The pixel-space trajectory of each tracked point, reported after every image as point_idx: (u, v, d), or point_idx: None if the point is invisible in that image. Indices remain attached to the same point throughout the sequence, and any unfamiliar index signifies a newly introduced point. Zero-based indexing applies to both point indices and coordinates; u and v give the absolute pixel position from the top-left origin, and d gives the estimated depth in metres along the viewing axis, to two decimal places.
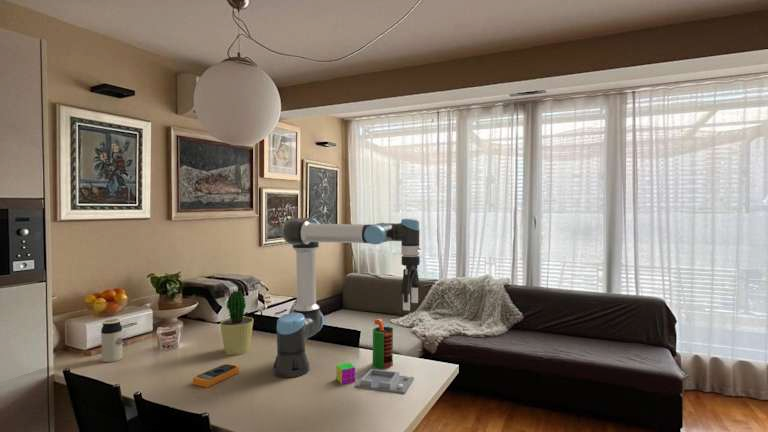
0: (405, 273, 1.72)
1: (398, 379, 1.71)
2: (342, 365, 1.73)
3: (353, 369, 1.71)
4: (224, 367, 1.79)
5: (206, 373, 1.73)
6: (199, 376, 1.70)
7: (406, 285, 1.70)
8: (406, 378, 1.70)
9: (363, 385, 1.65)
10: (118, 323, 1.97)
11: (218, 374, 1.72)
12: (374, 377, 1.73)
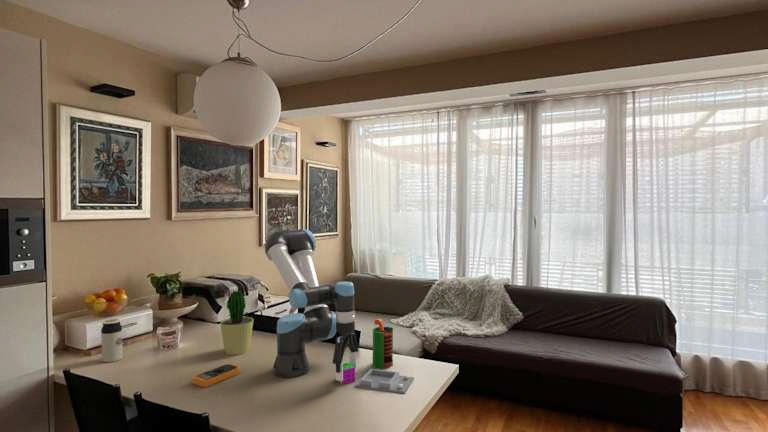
0: (337, 341, 1.65)
1: (398, 379, 1.71)
2: None
3: (353, 369, 1.71)
4: (225, 367, 1.79)
5: (206, 373, 1.73)
6: (199, 376, 1.71)
7: (338, 355, 1.63)
8: (406, 378, 1.70)
9: (363, 385, 1.65)
10: (118, 323, 1.97)
11: (217, 374, 1.72)
12: (374, 377, 1.73)
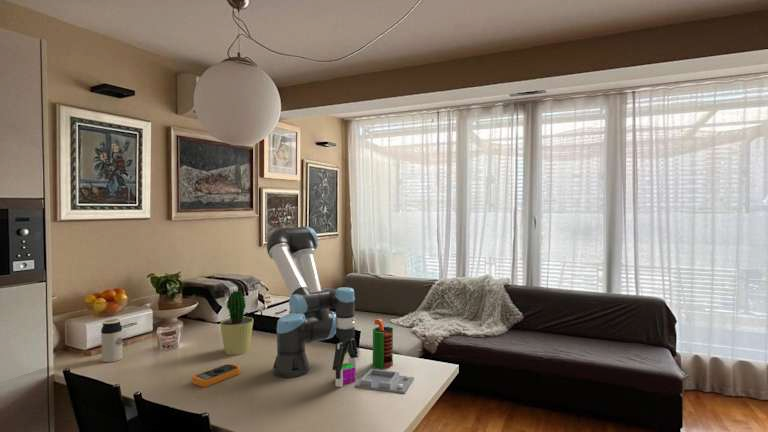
0: (337, 348, 1.66)
1: (398, 379, 1.71)
2: (342, 365, 1.73)
3: (353, 369, 1.71)
4: (225, 367, 1.79)
5: (206, 373, 1.74)
6: (198, 375, 1.71)
7: (338, 361, 1.63)
8: (406, 378, 1.70)
9: (363, 385, 1.65)
10: (118, 323, 1.97)
11: (217, 374, 1.72)
12: (374, 377, 1.73)
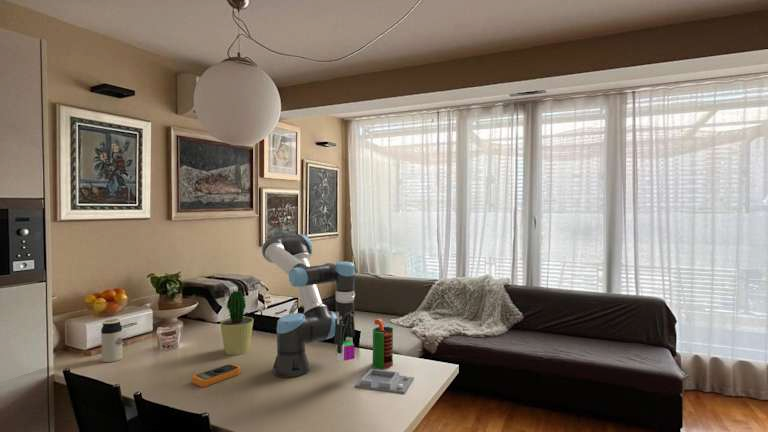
0: (337, 323, 1.66)
1: (398, 379, 1.71)
2: None
3: (352, 346, 1.71)
4: (226, 367, 1.79)
5: (206, 372, 1.74)
6: (198, 375, 1.71)
7: (338, 336, 1.65)
8: (406, 378, 1.70)
9: (363, 385, 1.65)
10: (118, 323, 1.97)
11: (216, 374, 1.72)
12: (374, 377, 1.73)
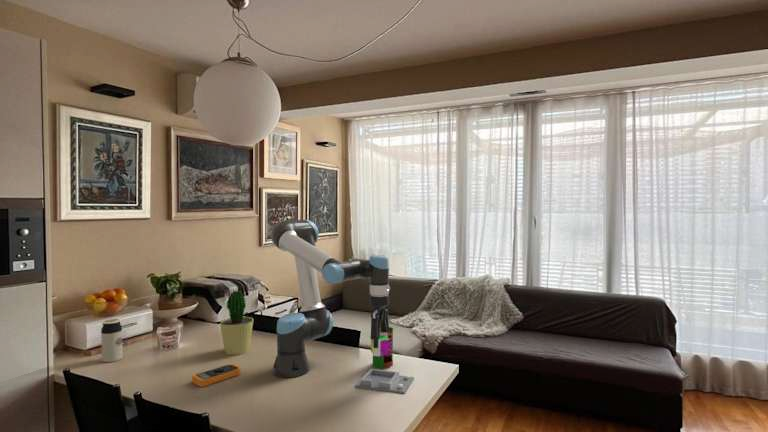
0: (373, 317, 1.63)
1: (398, 379, 1.71)
2: None
3: (388, 341, 1.68)
4: (226, 367, 1.79)
5: (206, 372, 1.74)
6: (198, 375, 1.72)
7: (375, 331, 1.62)
8: (406, 378, 1.70)
9: (363, 385, 1.65)
10: (118, 323, 1.97)
11: (216, 374, 1.72)
12: (374, 377, 1.73)
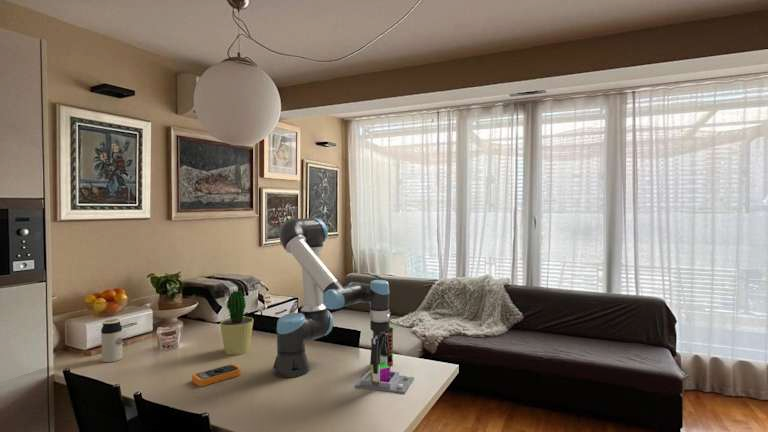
0: (373, 343, 1.63)
1: (398, 379, 1.71)
2: None
3: (388, 369, 1.68)
4: (227, 368, 1.79)
5: (207, 372, 1.74)
6: (198, 374, 1.72)
7: (375, 356, 1.62)
8: (406, 378, 1.70)
9: (363, 385, 1.65)
10: (118, 323, 1.97)
11: (215, 374, 1.72)
12: None
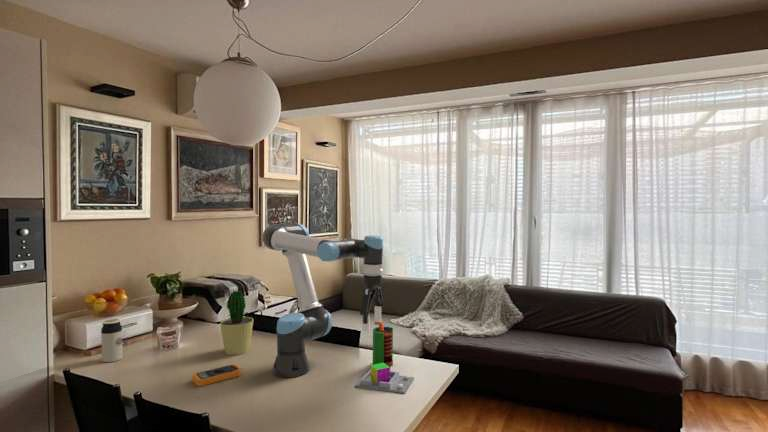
0: (365, 293, 1.66)
1: (398, 379, 1.71)
2: (376, 365, 1.71)
3: (388, 369, 1.68)
4: (227, 368, 1.79)
5: (207, 372, 1.75)
6: (198, 374, 1.73)
7: (365, 306, 1.64)
8: (406, 378, 1.70)
9: (363, 385, 1.65)
10: (118, 323, 1.97)
11: (215, 374, 1.72)
12: None
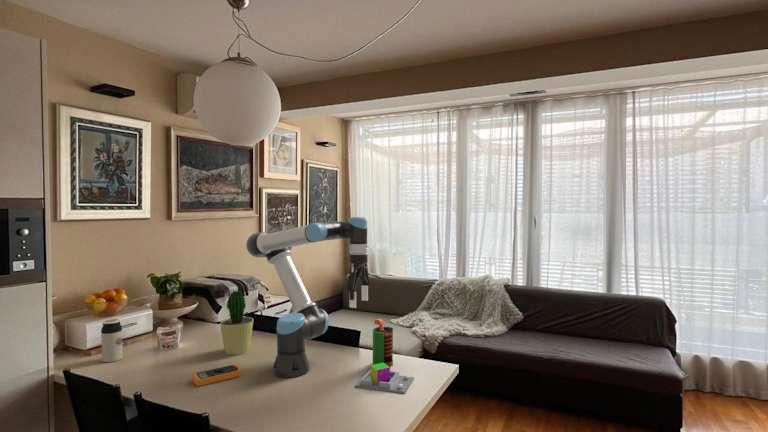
0: (351, 271, 1.74)
1: (398, 379, 1.71)
2: (376, 365, 1.71)
3: (388, 369, 1.68)
4: (228, 368, 1.78)
5: (207, 371, 1.75)
6: (198, 373, 1.73)
7: (352, 283, 1.72)
8: (406, 378, 1.70)
9: (363, 385, 1.65)
10: (118, 323, 1.97)
11: (214, 375, 1.71)
12: None
